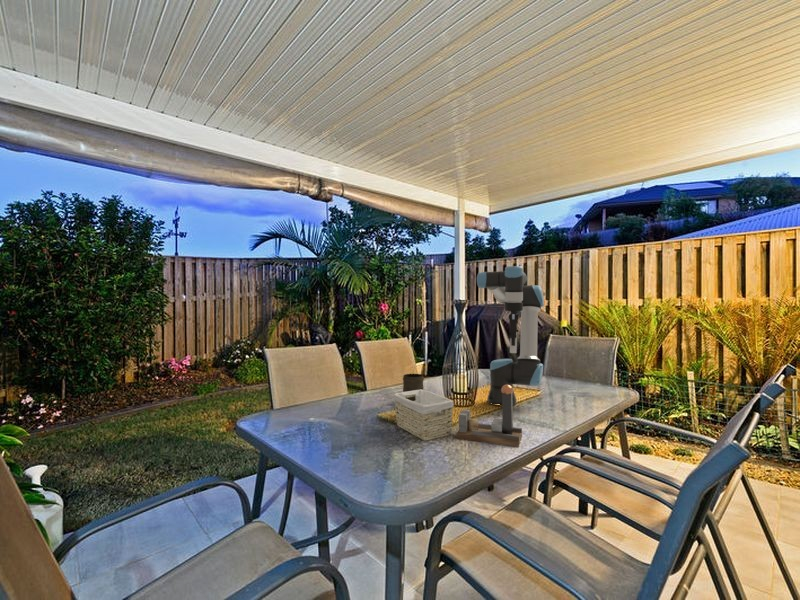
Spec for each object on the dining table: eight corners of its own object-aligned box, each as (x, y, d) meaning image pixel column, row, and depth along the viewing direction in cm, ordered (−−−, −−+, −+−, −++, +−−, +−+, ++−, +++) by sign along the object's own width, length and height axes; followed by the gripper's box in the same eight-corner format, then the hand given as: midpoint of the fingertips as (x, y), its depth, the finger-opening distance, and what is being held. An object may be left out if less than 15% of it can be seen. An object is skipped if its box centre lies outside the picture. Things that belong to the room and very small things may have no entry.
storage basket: (455, 435, 152) (455, 399, 152) (422, 443, 144) (422, 405, 144) (422, 420, 173) (422, 388, 173) (392, 426, 164) (392, 393, 165)
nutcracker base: (463, 428, 160) (463, 407, 160) (522, 436, 150) (521, 413, 150) (456, 438, 149) (456, 415, 149) (518, 446, 139) (518, 422, 139)
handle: (494, 429, 152) (493, 381, 152) (514, 431, 149) (513, 383, 149) (491, 434, 146) (490, 385, 146) (512, 437, 143) (511, 386, 143)
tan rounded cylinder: (469, 428, 155) (469, 418, 155) (479, 429, 153) (479, 419, 153) (467, 431, 151) (467, 421, 151) (477, 432, 149) (476, 422, 149)
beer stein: (421, 420, 172) (421, 376, 173) (399, 418, 175) (399, 375, 177) (429, 413, 186) (429, 372, 188) (409, 411, 190) (409, 371, 191)
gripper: (505, 299, 175) (505, 343, 177) (503, 304, 152) (503, 355, 153) (522, 299, 173) (522, 344, 175) (522, 304, 149) (522, 356, 151)
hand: (513, 349), depth 164 cm, fingers open, 13 cm apart
